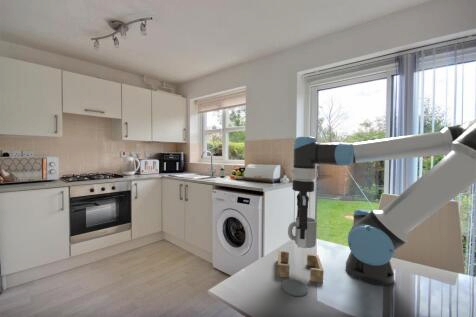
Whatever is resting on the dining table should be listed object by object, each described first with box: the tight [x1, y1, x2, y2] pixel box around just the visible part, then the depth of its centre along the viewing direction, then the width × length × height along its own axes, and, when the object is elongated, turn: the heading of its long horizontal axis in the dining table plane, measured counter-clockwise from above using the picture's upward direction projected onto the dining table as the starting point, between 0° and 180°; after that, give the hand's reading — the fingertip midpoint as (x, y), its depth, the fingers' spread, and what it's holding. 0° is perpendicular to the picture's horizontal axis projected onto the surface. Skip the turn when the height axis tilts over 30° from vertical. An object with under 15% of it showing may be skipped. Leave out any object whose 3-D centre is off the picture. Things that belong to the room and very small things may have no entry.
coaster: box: [281, 279, 309, 297], centre depth 72 cm, size 8×8×1 cm
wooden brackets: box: [276, 250, 325, 284], centre depth 83 cm, size 15×12×4 cm
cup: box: [287, 216, 318, 249], centre depth 82 cm, size 7×10×9 cm
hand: (300, 242), depth 83 cm, fingers closed on cup, 7 cm apart
